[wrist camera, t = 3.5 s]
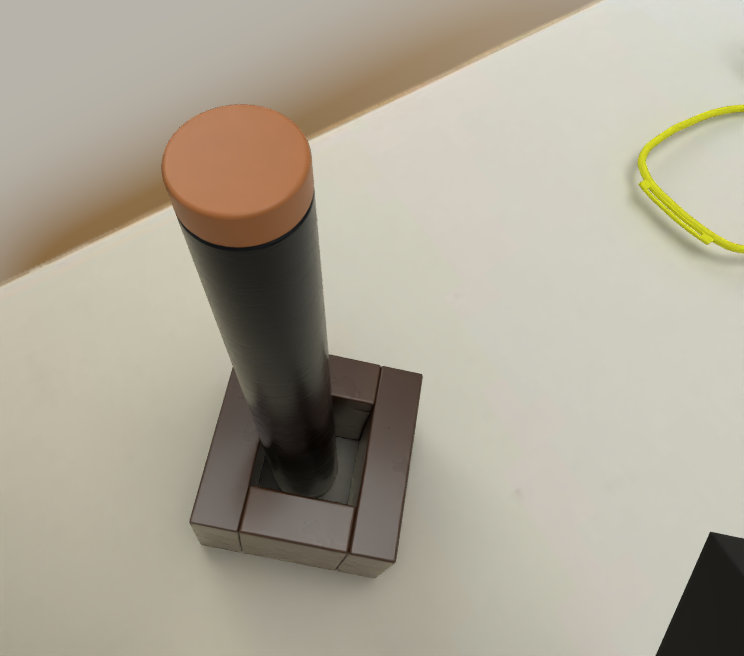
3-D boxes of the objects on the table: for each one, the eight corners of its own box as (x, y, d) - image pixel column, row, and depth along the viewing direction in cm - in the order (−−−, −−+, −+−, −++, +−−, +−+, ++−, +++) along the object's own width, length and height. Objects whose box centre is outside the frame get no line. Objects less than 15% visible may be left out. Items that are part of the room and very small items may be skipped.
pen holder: (200, 544, 23) (188, 523, 20) (244, 380, 26) (241, 335, 22) (376, 579, 23) (396, 563, 20) (401, 413, 26) (423, 373, 23)
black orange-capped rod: (270, 500, 24) (139, 205, 10) (284, 440, 25) (184, 93, 11) (332, 510, 24) (293, 227, 10) (343, 450, 25) (324, 112, 11)
